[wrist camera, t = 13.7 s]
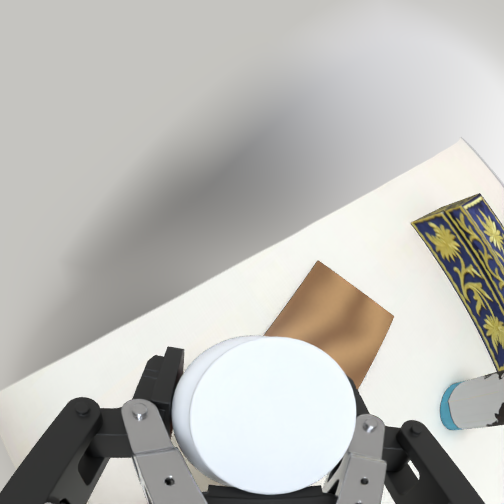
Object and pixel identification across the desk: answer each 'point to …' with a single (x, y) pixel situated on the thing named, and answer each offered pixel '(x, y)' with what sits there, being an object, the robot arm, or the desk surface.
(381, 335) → the shiny brown mat
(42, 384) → the desk surface
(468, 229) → the decorative box
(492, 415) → the cup
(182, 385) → the pill bottle
